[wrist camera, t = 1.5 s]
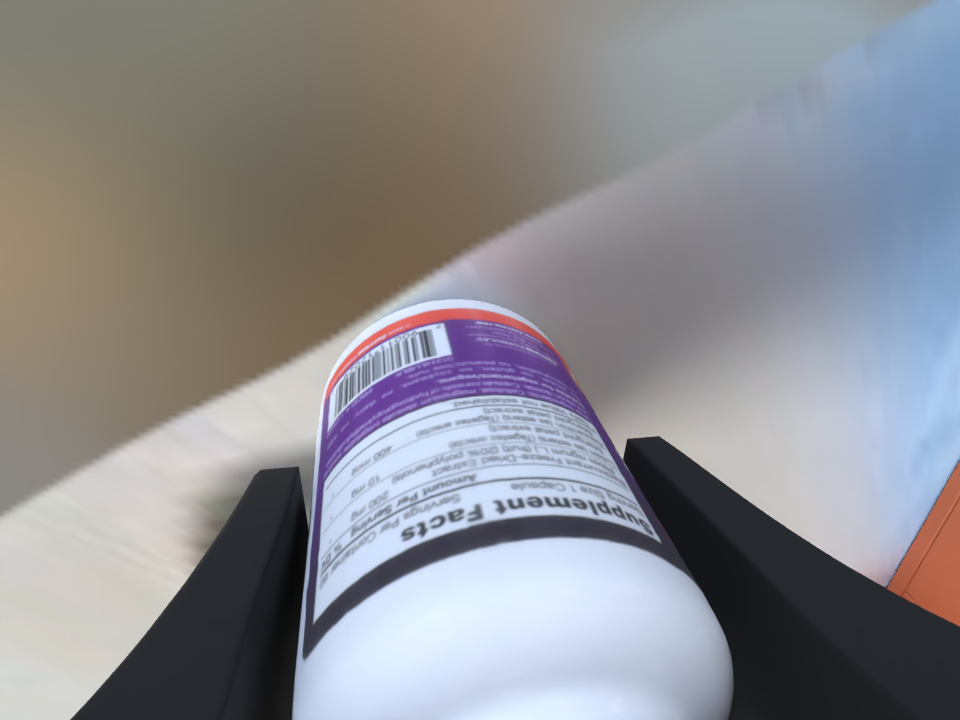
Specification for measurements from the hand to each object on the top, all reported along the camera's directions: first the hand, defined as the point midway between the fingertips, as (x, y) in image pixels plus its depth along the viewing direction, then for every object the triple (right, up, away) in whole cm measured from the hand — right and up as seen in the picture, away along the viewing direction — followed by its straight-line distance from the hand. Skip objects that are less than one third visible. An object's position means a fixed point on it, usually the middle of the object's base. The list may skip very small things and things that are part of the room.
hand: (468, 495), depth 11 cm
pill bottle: (-1, +2, +3) cm, 3 cm away
